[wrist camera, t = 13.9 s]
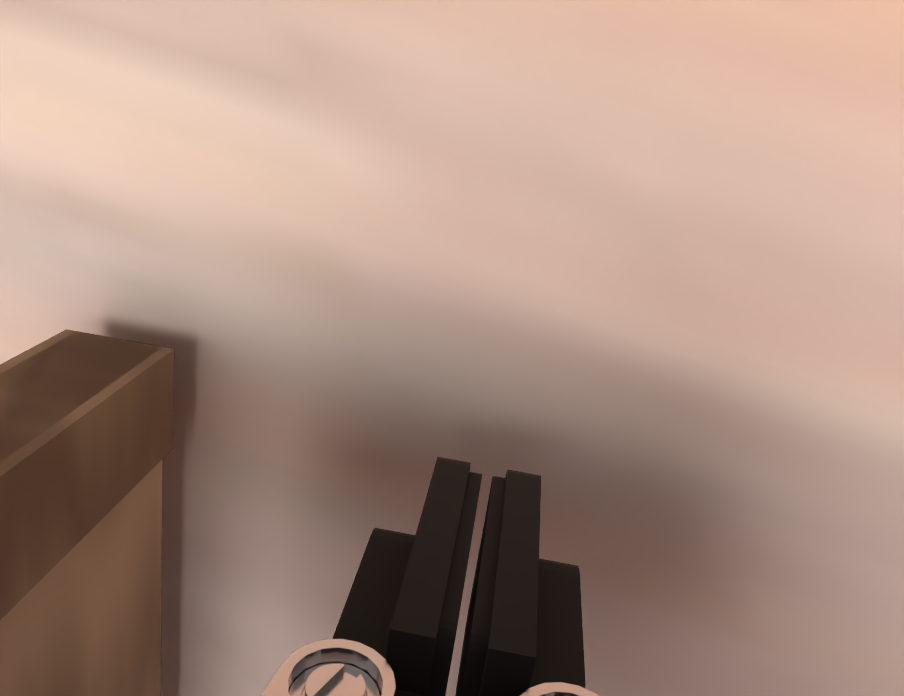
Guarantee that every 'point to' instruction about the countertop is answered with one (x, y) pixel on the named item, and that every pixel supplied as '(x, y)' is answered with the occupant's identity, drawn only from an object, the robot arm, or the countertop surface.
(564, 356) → the countertop surface
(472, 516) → the robot arm
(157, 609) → the brown wooden block
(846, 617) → the countertop surface
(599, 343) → the countertop surface
